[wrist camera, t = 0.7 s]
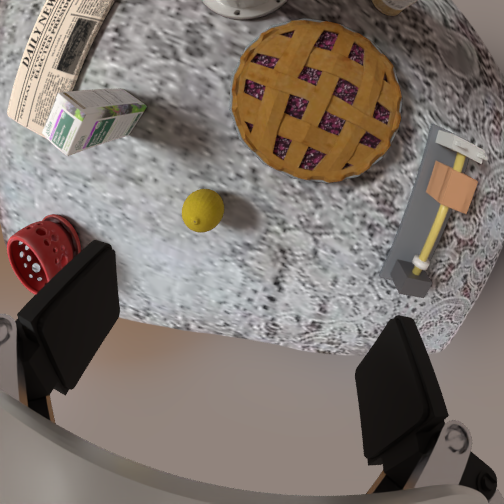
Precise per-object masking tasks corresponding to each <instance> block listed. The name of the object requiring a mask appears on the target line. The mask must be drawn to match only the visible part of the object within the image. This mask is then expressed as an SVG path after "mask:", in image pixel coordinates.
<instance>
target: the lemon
mask: <svg viewBox="0 0 504 504" xmlns="http://www.w3.org/2000/svg"><path fill="white" fill-rule="evenodd" d="M223 213H224V204H223V200H222V199H221V197H220V196H219V195H218V194H217V193H216V192H215V191H213V190H210V189H200V190H197V191H195V192H193V193H192V194H190V195H189V196H188V197H187V199H186V200H185V202H184V204H183V208H182V218H183V221H184V223H185V224H186V226H187V227H188V228H190V229H191V230H193V231H195V232H207V231H210V230H211V229H213V228H215V227H216V226H217V225H218V224H219V222H220V221H221V219H222V217H223Z"/></svg>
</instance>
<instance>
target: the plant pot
mask: <svg viewBox="0 0 504 504" xmlns="http://www.w3.org/2000/svg"><path fill="white" fill-rule="evenodd" d="M19 241H21V242H23V244H21V245H19ZM26 245H27V246H28V247H29V249H28V250H25V246H26ZM21 251H22V252H23V253H24V255H23V257H22V258H21V257H20V252H21ZM7 252H8V258H9V261H10V264H11V266H12V268H13V270H14V272H15V274H16V276H17V277H18V279H19V280H20V281H21V283H22V284H23V285H24V286H25V287H26V288H27V289H28V290H29V291H30V292H32V293H33V294H35V295H36V294H37V293H38V292H39V291H40V290H41V289H42V288H43V287H44V286H45V285H46V284H47V283H48V282H49V281H50V280H51V279H52V278H53V277H54V276H55V275H56V274H57V273H58V272H59V271H60V270H61V269H62V268H63V267H64V266H65V265H67V264H68V263H69V262H70V261H71V260H72V259H73V258H74V257H75V256H76V255H77V254H79V253H80V252H81V245H80V240H79V237H78V235H77V233H76V231H75V229H74V228H73V226H72V225H71V224H70V223H69V222H68V221H67V220H66V219H65V218H63V217H61V216H59V215H55V214H52V215H48V216H46V217H45V218H44V219H43V220H42V221H39V222H35V223H33V224H30V225H28V226H26V227H25V228H23V229H21V230H20V231H18V232H17V233H15V234H14V235H13V236H11V237H10V239H9V240H8V244H7ZM28 255H30V256H31V261H28V260H27V256H28ZM24 263H26V264H27V267H26V268H25V267H24ZM34 263H37V264H39V265H40V268H41V269H40V271H39V272H37V273H36V272H34V271H33V270H32V265H33V264H34ZM30 274H31V275H32V276H33V278H30V277H29V275H30ZM38 277H41V278H42V280H41V281H38V280H37V278H38Z"/></svg>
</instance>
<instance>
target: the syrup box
mask: <svg viewBox="0 0 504 504" xmlns="http://www.w3.org/2000/svg"><path fill="white" fill-rule="evenodd" d="M146 108H147V106H146V105H145V104H144V103H142V102H141V101H139V100H138V99H136V98H135V97H133V96H132V95H131V94H129V93H128V92H126V91H125V90H123V89H95V90H81V91H70V92H60V93H58V94H57V97H56V100H55V102H54V104H53V106H52V108H51V111H50V113H49V115H48V118H47V120H46V123H45V126H44V129H43V131H42V134H43V135H44V136H45V137H46V138H47V139H48V140H49V141H50V142H51V143H52V144H53V145H54V146H55V147H56V148H58V149H59V150H60V151H61V152H63V153H64V154H65V155H67V156H69V155H72V154H75V153H77V152H80V151H83V150H85V149H88V148H91V147H94V146H97V145H100V144H102V143H105V142H109V141H112V140H115V139H118V138H122V137H125V136H128V135H129V134H130V133H131V131H132V129H133V128H134V126H135V125H136V123H137V122H138V120H139V119H140V117H141V115H142V114H143V112H144V111H145V109H146Z"/></svg>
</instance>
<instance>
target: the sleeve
mask: <svg viewBox="0 0 504 504" xmlns="http://www.w3.org/2000/svg"><path fill="white" fill-rule="evenodd" d="M477 183H478V181H476V180H475V179H473V178H471V177H470V176H468V175H466V174H464V173H462V172H461V173H460V172H458V171H456V170H454V169H453V168H452V167H450V166H448V165H445V164H443V163H441V162H438V161H436V162H435V165H434V168H433V172H432V175H431V178H430V181H429V184H428V187H427V190H426V193H428V194H429V195H430V196H431V197H433V198H434V199H435V200H436V201H438V202H439V203H440V204H441V205H444V206H447V207H449V208H452V209H455V210H457V211H460V212H462V213H465V214H467V211H468V208H469V206H470V203H471V200H472V198H473V195H474V192H475V189H476V186H477Z"/></svg>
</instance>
